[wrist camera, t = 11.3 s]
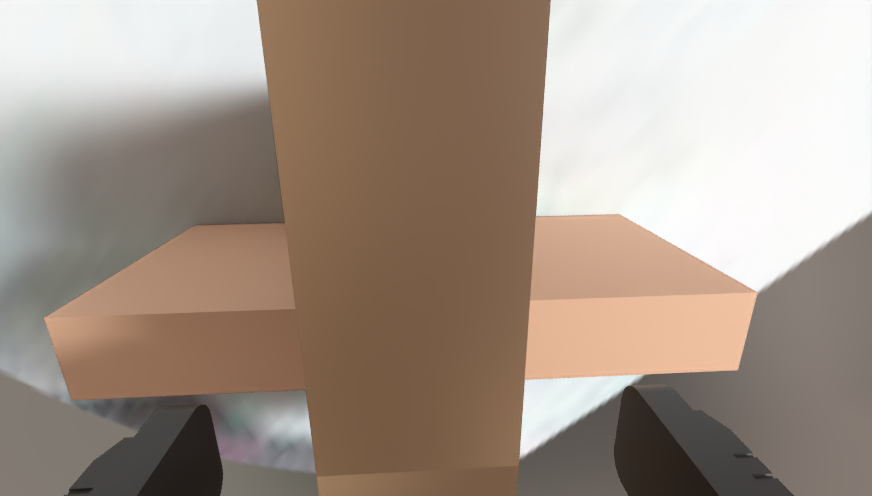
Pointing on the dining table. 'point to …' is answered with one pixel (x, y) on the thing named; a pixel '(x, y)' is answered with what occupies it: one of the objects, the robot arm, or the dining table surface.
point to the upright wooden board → (410, 231)
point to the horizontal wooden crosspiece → (278, 330)
